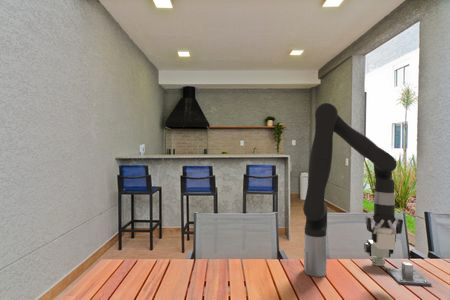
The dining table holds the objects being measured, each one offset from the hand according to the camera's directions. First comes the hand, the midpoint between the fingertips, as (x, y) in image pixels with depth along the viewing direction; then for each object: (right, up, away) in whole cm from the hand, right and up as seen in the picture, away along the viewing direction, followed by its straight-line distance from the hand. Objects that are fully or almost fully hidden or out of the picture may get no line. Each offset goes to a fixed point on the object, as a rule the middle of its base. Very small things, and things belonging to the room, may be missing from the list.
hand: (383, 242), depth 116 cm
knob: (0, -2, 0) cm, 2 cm away
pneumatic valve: (+7, -16, +17) cm, 24 cm away
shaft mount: (+12, -16, +3) cm, 20 cm away
